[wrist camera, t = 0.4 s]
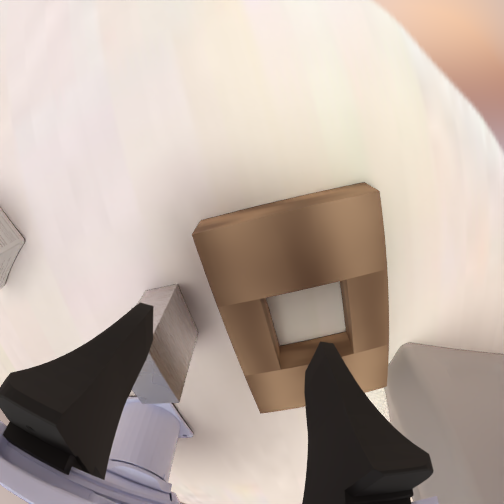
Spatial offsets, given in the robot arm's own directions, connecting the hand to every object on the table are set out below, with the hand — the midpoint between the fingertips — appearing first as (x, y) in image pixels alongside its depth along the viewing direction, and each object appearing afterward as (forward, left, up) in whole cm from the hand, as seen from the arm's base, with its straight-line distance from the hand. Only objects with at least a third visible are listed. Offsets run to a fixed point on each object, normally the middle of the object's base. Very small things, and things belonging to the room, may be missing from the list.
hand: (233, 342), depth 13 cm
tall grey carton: (+17, -24, -11) cm, 31 cm away
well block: (+3, -6, -11) cm, 13 cm away
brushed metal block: (-8, -4, -11) cm, 14 cm away
